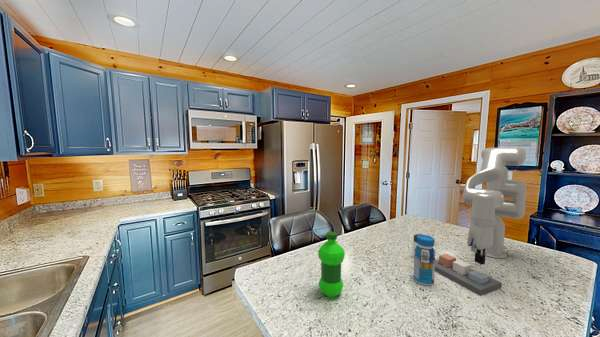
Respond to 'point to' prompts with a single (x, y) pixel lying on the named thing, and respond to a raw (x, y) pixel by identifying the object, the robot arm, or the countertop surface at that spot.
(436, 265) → the slotted grey plate
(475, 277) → the slate key
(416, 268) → the beverage bottle
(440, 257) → the brick key
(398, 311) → the countertop surface
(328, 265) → the plastic bottle
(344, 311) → the countertop surface
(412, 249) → the jar
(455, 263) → the ivory key
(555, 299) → the countertop surface
